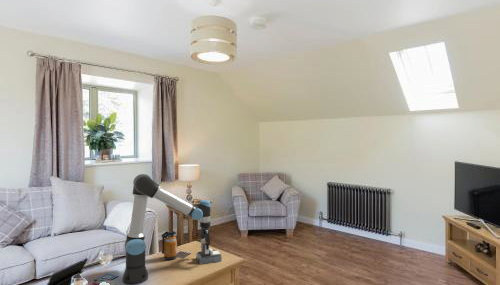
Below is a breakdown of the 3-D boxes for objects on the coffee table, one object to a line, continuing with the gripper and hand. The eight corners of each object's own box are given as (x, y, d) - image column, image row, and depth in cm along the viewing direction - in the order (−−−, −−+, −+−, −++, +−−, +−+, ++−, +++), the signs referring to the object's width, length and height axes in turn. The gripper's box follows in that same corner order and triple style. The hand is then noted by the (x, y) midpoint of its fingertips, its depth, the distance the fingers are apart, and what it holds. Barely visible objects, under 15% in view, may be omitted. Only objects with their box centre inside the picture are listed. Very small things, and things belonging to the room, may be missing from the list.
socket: (199, 264, 218) (199, 257, 218) (196, 258, 229) (196, 251, 229) (221, 261, 224) (221, 254, 224) (217, 255, 235) (217, 249, 235)
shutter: (210, 255, 224) (211, 251, 224) (208, 252, 230) (208, 248, 230) (220, 254, 226) (220, 250, 226) (217, 251, 233) (217, 247, 233)
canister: (177, 259, 226) (177, 232, 226) (161, 261, 223) (161, 233, 223) (176, 255, 235) (176, 229, 235) (161, 256, 232) (161, 230, 231)
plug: (202, 261, 223) (202, 241, 223) (201, 259, 227) (201, 240, 227) (208, 260, 225) (208, 241, 225) (207, 259, 228) (207, 239, 228)
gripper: (214, 225, 216) (214, 255, 216) (206, 217, 239) (205, 244, 239) (204, 226, 213) (203, 257, 213) (196, 218, 236) (196, 245, 236)
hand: (204, 250), depth 226 cm, fingers open, 13 cm apart
